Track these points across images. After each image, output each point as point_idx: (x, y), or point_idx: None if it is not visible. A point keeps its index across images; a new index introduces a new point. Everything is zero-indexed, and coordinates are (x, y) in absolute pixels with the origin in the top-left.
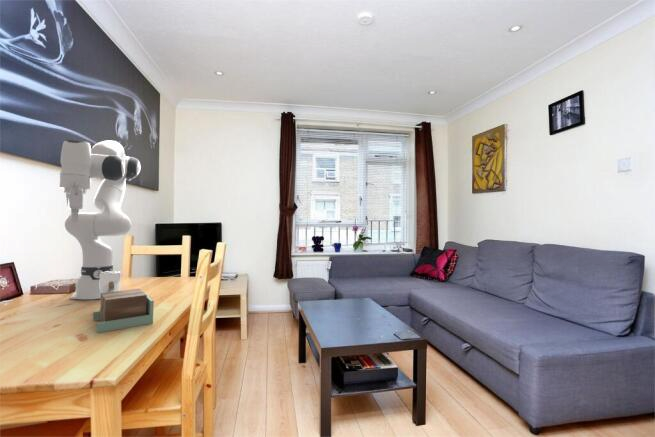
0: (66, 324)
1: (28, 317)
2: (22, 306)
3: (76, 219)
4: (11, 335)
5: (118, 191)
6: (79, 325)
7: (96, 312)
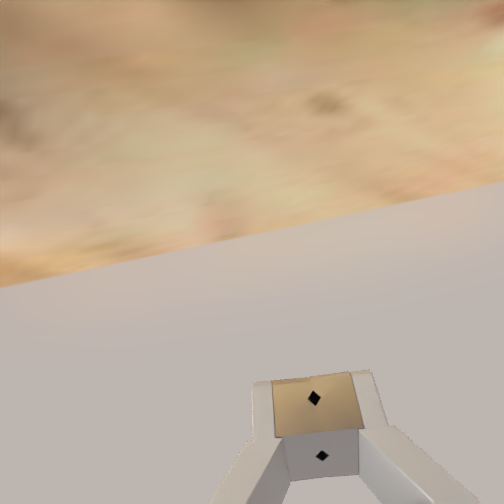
0: (331, 77)
1: (174, 203)
2: (5, 249)
3: (376, 403)
4: (365, 200)
5: None
6: (373, 30)
7: None
